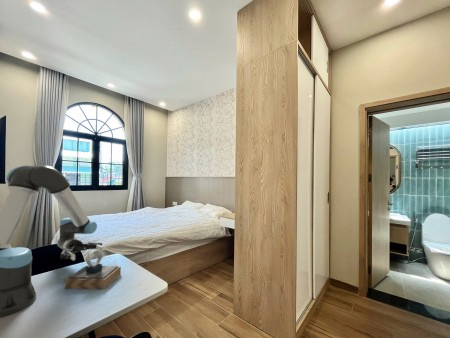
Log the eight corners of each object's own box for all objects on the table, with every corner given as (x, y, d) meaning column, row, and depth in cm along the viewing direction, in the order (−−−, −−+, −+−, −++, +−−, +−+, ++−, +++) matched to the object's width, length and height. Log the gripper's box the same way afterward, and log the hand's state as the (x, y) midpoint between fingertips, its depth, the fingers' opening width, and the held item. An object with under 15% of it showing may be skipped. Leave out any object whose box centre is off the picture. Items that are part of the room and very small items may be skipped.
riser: (64, 288, 96) (64, 277, 96) (86, 274, 110) (86, 264, 110) (103, 289, 95) (104, 278, 95) (120, 274, 109) (120, 265, 109)
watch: (105, 268, 106) (105, 247, 106) (91, 275, 98) (91, 253, 98) (96, 267, 107) (97, 247, 107) (82, 274, 99) (83, 252, 100)
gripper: (95, 245, 129) (112, 252, 117) (46, 259, 108) (60, 269, 96) (95, 234, 129) (112, 239, 117) (46, 245, 108) (60, 254, 97)
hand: (89, 253), depth 107 cm, fingers open, 13 cm apart
